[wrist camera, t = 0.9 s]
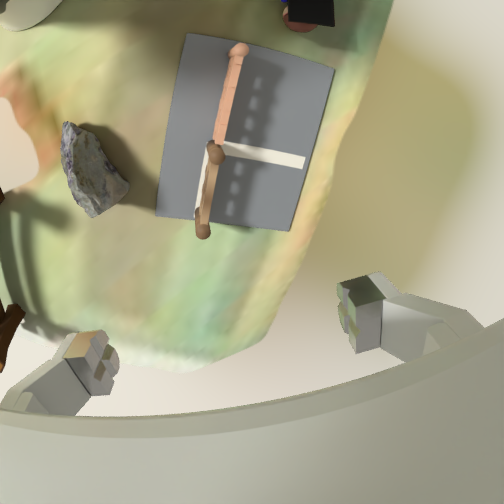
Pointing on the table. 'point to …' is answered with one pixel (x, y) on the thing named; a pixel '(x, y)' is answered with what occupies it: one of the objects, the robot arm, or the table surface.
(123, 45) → the table surface
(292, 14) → the figurine character
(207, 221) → the fixed fence section
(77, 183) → the mineral rock
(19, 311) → the decorative fence
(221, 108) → the hinged fence panel
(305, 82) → the card
